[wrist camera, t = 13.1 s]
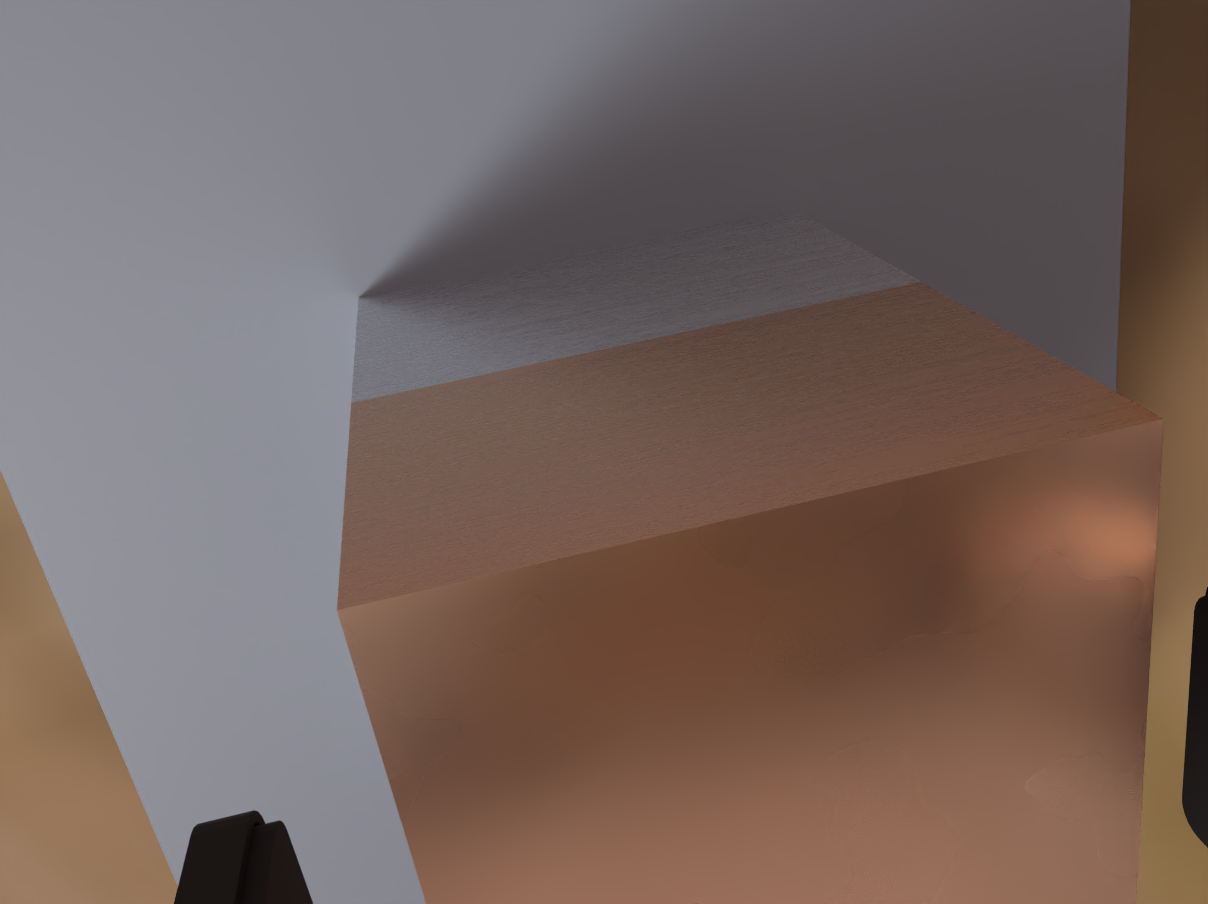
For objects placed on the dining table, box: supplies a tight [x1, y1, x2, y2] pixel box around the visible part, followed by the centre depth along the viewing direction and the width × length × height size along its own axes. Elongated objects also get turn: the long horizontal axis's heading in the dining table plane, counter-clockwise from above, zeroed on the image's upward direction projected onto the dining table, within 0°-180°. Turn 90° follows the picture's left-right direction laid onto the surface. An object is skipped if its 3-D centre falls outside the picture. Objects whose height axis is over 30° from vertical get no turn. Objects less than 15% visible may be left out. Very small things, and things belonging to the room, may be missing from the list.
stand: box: [0, 0, 1131, 904], centre depth 18 cm, size 18×16×3 cm
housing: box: [337, 209, 1164, 904], centre depth 13 cm, size 6×8×8 cm
